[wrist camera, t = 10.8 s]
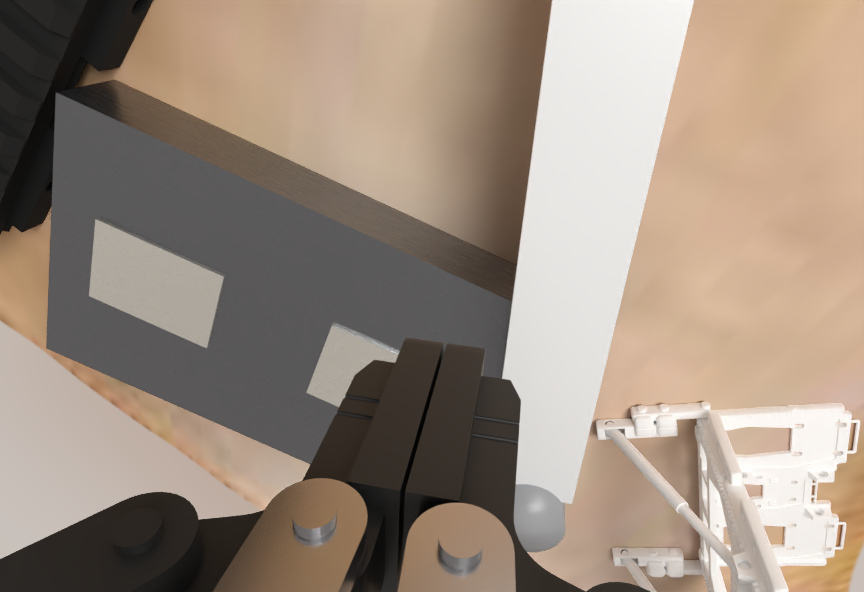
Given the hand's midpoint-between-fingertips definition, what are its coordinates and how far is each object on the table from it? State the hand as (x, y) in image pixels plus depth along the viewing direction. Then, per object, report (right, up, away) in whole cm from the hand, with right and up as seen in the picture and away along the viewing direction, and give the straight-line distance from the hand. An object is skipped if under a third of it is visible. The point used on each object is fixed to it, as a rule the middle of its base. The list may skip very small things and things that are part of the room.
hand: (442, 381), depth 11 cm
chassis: (-6, 0, +23) cm, 24 cm away
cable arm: (+6, +3, +14) cm, 15 cm away
